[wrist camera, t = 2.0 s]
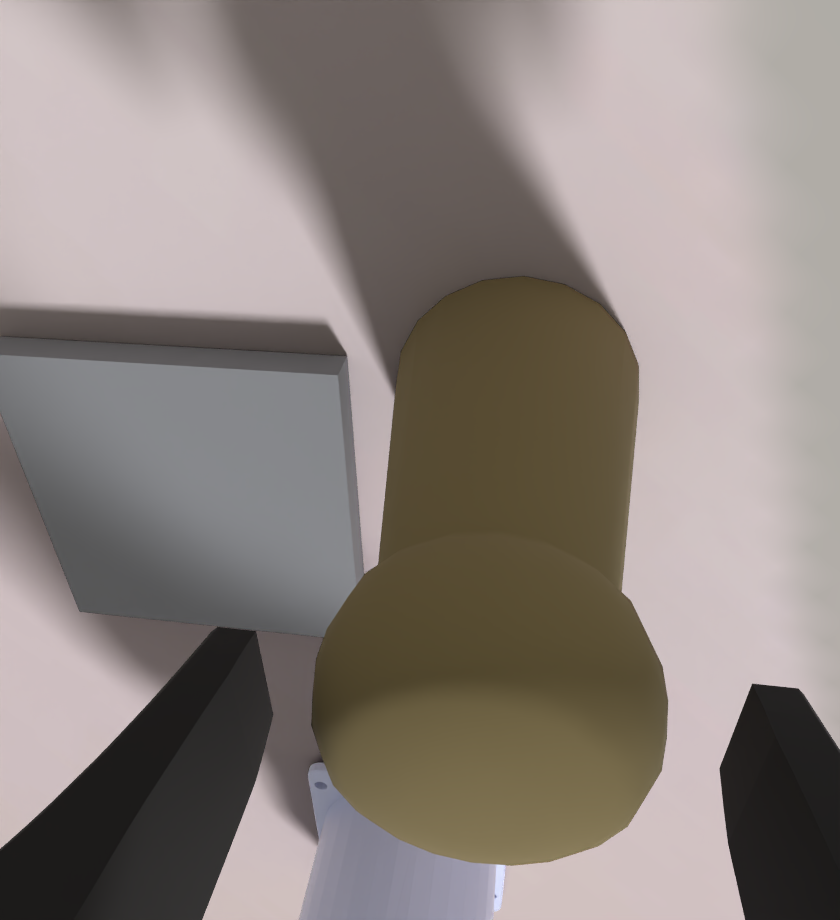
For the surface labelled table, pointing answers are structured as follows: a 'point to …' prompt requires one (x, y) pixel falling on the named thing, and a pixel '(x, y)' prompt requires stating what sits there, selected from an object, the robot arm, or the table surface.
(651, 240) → the table surface
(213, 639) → the robot arm
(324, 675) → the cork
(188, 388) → the mat
